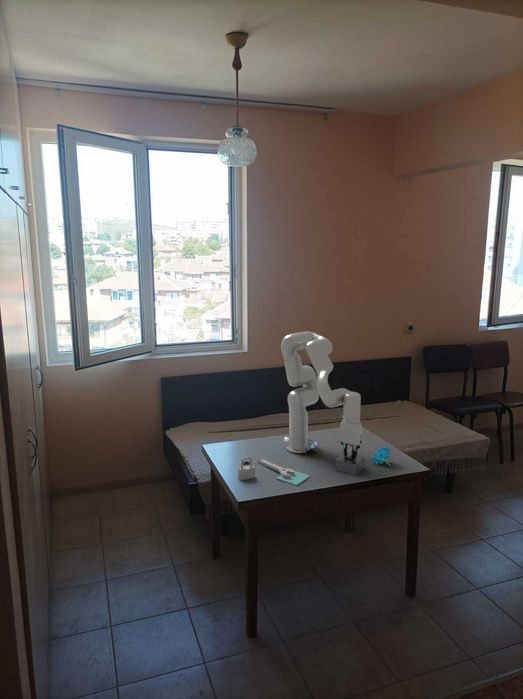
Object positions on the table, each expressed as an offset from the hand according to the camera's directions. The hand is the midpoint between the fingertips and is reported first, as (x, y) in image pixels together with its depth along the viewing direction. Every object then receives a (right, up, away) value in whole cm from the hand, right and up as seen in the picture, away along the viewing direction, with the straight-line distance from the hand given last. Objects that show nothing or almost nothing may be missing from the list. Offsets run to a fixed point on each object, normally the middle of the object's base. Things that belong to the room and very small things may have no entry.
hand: (350, 456), depth 230 cm
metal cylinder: (0, -4, +1) cm, 4 cm away
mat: (-27, -8, -9) cm, 30 cm away
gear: (+16, -5, +7) cm, 19 cm away
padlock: (-48, -8, -8) cm, 49 cm away
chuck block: (0, -6, +1) cm, 6 cm away
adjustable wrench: (-35, -6, 0) cm, 35 cm away
